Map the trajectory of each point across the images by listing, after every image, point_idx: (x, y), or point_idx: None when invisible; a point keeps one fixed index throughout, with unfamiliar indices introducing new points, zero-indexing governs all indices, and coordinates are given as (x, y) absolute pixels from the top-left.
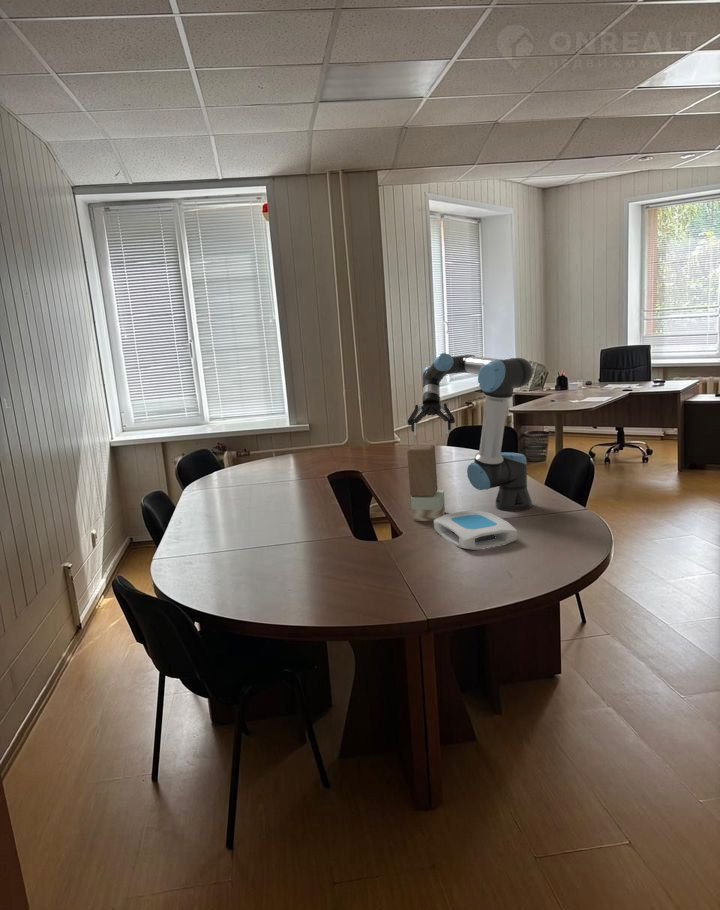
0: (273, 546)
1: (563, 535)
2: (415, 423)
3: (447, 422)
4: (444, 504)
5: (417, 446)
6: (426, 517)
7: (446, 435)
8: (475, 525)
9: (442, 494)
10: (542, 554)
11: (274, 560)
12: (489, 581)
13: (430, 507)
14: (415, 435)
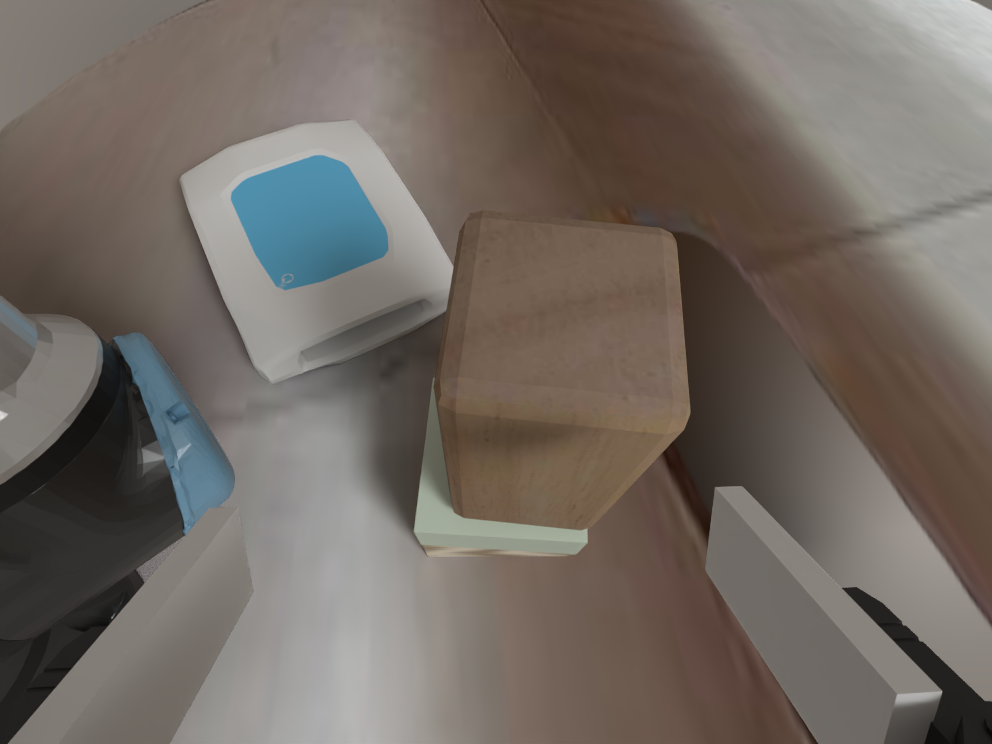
0: (948, 199)
1: (29, 254)
2: (893, 674)
3: (44, 712)
4: (424, 548)
5: (610, 332)
6: None
7: (242, 544)
8: (307, 186)
9: (423, 464)
10: (160, 133)
11: (866, 118)
12: (324, 27)
13: None
14: (719, 492)
